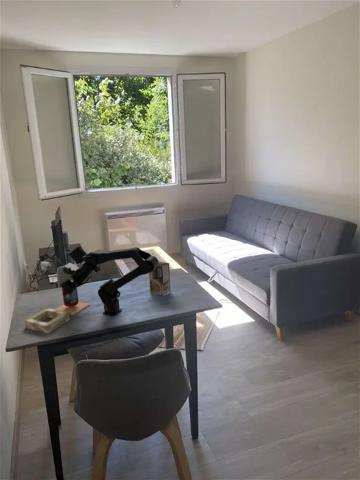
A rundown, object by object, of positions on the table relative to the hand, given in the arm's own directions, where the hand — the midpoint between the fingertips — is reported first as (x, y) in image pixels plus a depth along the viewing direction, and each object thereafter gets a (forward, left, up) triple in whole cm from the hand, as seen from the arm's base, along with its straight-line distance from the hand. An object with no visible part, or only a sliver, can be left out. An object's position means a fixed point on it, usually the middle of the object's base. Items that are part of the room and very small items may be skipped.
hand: (67, 291), depth 170 cm
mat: (-1, 0, -8) cm, 9 cm away
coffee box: (-32, -32, -9) cm, 46 cm away
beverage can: (-1, 0, -7) cm, 7 cm away
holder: (-2, +16, -8) cm, 18 cm away
